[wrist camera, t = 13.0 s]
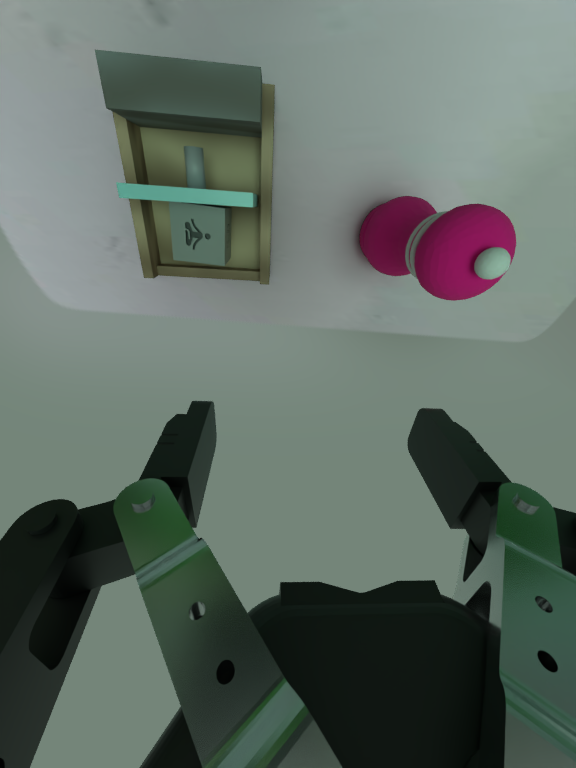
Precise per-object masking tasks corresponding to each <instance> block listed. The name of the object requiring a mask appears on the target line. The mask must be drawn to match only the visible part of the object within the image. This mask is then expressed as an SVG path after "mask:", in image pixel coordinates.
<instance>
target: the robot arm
mask: <svg viewBox="0 0 576 768" xmlns="http://www.w3.org/2000/svg"><path fill="white" fill-rule="evenodd" d="M214 411H215V410H214V403H213V402H212V401H192V403H191V405H190V407H189V410H188V412H187V414H177V415H175V416H174V417H173V418H172V419H171V420H170V421H168V422H167V424H166V426H165V428H164V430H163V432H162V435H161V436H160V438H159V440H158V442H157V445H156V446H155V448H154V450H153V452H152V454H151V456H150V458H149V460H148V462H147V465H146V466H145V469H144V471H143V473H142V475H141V477H140V479H139V480H138V481H137V482H134V483H132V484H131V485H129V486H127V487H126V488H125V489H124V490H122V491H121V493H120V494H119V495H118V497H117V498H116V499H114V500H112V501H109V502H106V503H102V504H98V505H94V506H90V507H86V508H82V509H79V510H78V509H77V507H76V505H75V504H74V503H72V502H71V501H69V500H64V499H58V500H51V501H47V502H44V503H42V504H39V505H37V506H35V507H33V508H31V509H30V510H28V511H27V512H25V513H24V514H23V515H21V516H20V517H19V518H18V519H17V520H16V521H15V522H14V523H13V524H12V526H11V527H10V528H9V530H8V531H7V533H6V534H5V535H4V536H3V538H2V539H1V540H0V768H30V765H31V763H32V760H33V758H34V755H35V753H36V750H37V748H38V745H39V743H40V740H41V737H42V735H43V733H44V730H45V728H46V725H47V722H48V720H49V717H50V715H51V712H52V710H53V707H54V705H55V702H56V700H57V697H58V695H59V692H60V690H61V687H62V685H63V682H64V679H65V677H66V674H67V672H68V669H69V667H70V664H71V662H72V659H73V657H74V654H75V652H76V649H77V647H78V644H79V642H80V639H81V636H82V634H83V631H84V629H85V626H86V624H87V621H88V619H89V616H90V614H91V611H92V608H93V606H94V604H95V601H96V599H97V596H98V593H99V591H100V588H101V586H102V585H105V584H108V583H111V582H114V581H117V580H120V579H123V578H126V577H129V576H131V575H134V574H136V577H137V582H138V585H139V588H140V591H141V594H142V597H143V600H144V602H145V605H146V608H147V611H148V614H149V617H150V619H151V622H152V625H153V628H154V631H155V634H156V637H157V639H158V642H159V645H160V648H161V650H162V654H163V657H164V659H165V662H166V665H167V668H168V671H169V673H170V676H171V679H172V682H173V685H174V688H175V690H176V694H177V696H178V699H179V702H180V705H181V707H180V709H179V710H178V712H177V713H176V714H175V716H174V718H173V719H172V721H171V722H170V723H169V725H168V726H167V728H166V729H165V731H164V732H163V734H162V735H161V737H160V738H159V740H158V741H157V743H156V744H155V746H154V747H153V749H152V750H151V752H150V753H149V754H148V756H147V757H146V759H145V760H144V762H143V763H142V765H141V767H140V768H576V513H573V512H569V511H566V510H562V509H558V508H554V507H552V506H551V504H550V503H549V502H548V501H547V500H546V499H545V498H544V497H543V496H541V495H540V494H539V493H537V492H536V491H534V490H532V489H531V488H528V487H526V486H524V485H521V484H518V483H512V482H511V481H510V480H509V479H508V478H507V477H506V475H505V474H504V473H503V472H502V471H501V469H500V468H499V467H498V466H497V465H496V463H495V462H494V461H493V460H492V459H491V458H490V457H489V455H488V454H487V453H486V452H484V450H483V448H482V447H481V446H480V445H479V443H476V440H475V439H474V438H473V436H472V435H471V434H470V433H469V432H468V431H467V430H466V429H464V428H463V427H462V426H460V425H459V424H457V423H456V422H453V421H452V420H451V419H450V417H449V416H448V415H447V414H446V412H445V411H444V410H443V409H429V408H422V409H420V410H419V411H418V413H417V416H416V418H415V421H414V424H413V426H412V429H411V432H410V434H409V437H408V450H409V453H410V455H411V457H412V459H413V460H414V462H415V464H416V466H417V468H418V470H419V472H420V473H421V475H422V477H423V479H424V481H425V483H426V484H427V486H428V488H429V490H430V492H431V494H432V495H433V497H434V499H435V501H436V503H437V505H438V507H439V508H440V510H441V512H442V514H443V516H444V518H445V520H446V522H447V523H448V525H449V527H450V528H451V529H466V531H467V533H468V535H467V536H466V538H465V540H464V546H463V551H462V557H461V563H460V569H459V575H458V581H457V586H456V590H455V593H454V595H453V597H452V599H451V598H449V597H446V596H444V595H441V594H440V592H439V590H438V587H437V585H436V583H435V581H434V580H432V581H396V582H394V583H390V584H388V585H385V586H382V587H379V588H376V589H373V590H371V591H368V592H365V593H358V592H354V591H350V590H347V589H343V588H339V587H336V586H332V585H329V584H325V583H322V582H281V583H280V592H279V595H277V596H274V597H271V598H269V599H267V600H265V601H263V602H261V603H260V604H258V605H257V606H255V607H254V608H253V609H251V610H250V611H249V612H248V613H247V612H246V610H245V609H244V607H243V605H242V603H241V602H240V600H239V598H238V596H237V595H236V593H235V591H234V590H233V588H232V586H231V584H230V583H229V581H228V579H227V577H226V576H225V574H224V572H223V571H222V569H221V567H220V565H219V564H218V562H217V560H216V558H215V557H214V555H213V553H212V552H211V550H210V548H209V547H208V545H207V543H206V542H205V541H204V540H203V539H202V538H200V539H199V538H198V537H197V536H196V534H195V532H194V530H193V529H192V528H196V527H197V522H198V518H199V514H200V510H201V506H202V501H203V498H204V493H205V489H206V485H207V481H208V477H209V473H210V468H211V464H212V460H213V456H214V452H215V447H216V423H215V412H214Z"/></svg>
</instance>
